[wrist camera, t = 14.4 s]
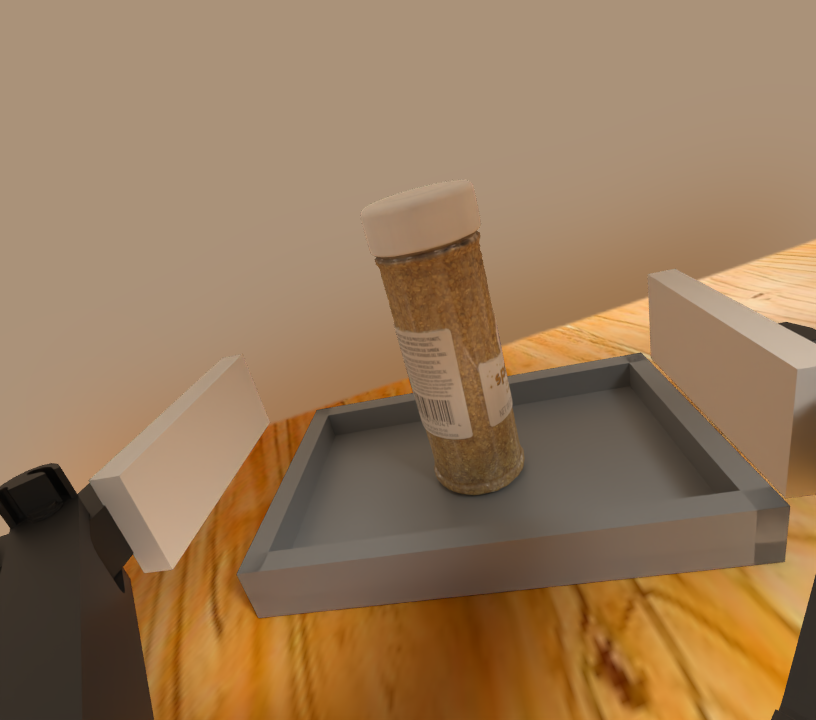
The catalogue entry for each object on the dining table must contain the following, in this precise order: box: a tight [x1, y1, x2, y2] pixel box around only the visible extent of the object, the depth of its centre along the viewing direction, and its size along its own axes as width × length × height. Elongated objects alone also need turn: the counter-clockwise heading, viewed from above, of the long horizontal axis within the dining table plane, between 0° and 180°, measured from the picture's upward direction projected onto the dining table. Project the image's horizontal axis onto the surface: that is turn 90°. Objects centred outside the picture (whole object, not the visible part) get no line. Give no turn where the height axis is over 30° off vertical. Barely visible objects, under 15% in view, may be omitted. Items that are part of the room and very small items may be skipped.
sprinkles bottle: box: [360, 180, 524, 495], centre depth 21 cm, size 5×5×13 cm
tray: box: [237, 353, 790, 618], centre depth 24 cm, size 20×13×2 cm, turn 86°
